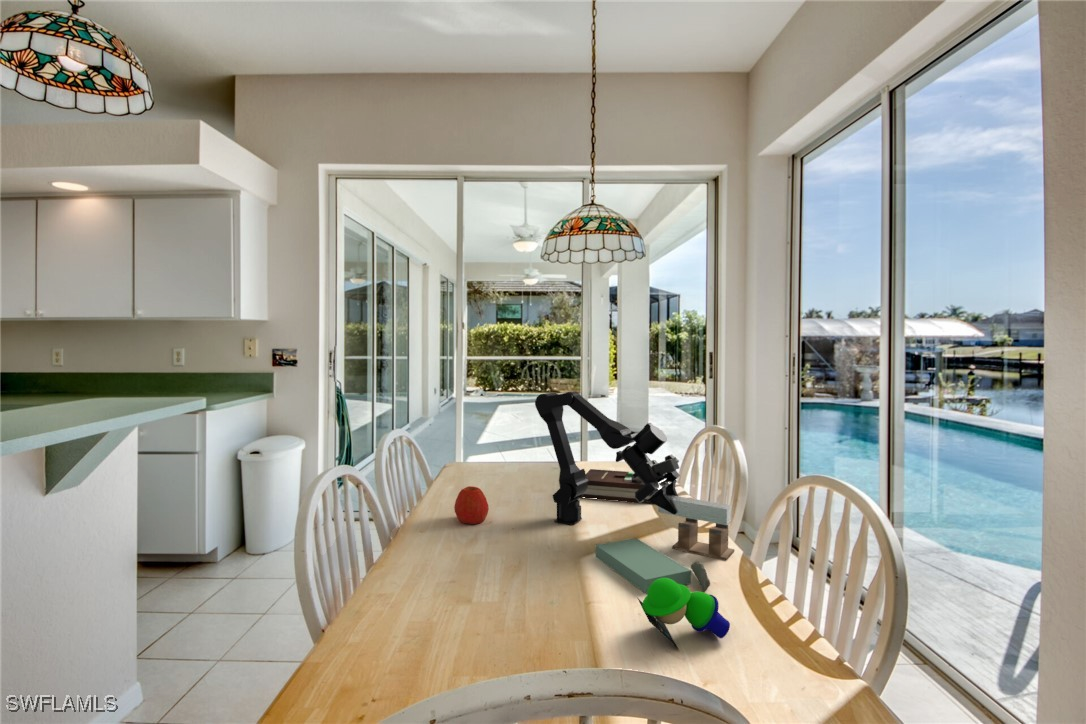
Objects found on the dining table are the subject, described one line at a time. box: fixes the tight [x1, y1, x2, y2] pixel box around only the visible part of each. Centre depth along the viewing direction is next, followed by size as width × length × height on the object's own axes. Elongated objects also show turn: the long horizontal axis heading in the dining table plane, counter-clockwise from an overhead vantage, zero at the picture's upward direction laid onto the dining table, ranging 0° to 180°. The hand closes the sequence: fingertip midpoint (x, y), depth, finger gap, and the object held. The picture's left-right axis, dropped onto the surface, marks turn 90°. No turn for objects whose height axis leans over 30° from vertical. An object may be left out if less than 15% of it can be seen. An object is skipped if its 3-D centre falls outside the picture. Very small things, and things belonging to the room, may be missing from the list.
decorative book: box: [582, 468, 653, 505], centre depth 194 cm, size 19×8×30 cm
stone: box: [690, 560, 711, 593], centre depth 123 cm, size 13×2×5 cm, turn 0°
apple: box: [453, 485, 489, 525], centre depth 165 cm, size 10×10×10 cm
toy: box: [637, 578, 731, 651], centre depth 101 cm, size 10×11×15 cm
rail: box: [657, 494, 732, 525], centre depth 143 cm, size 18×4×4 cm, turn 56°
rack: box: [671, 517, 735, 561], centre depth 142 cm, size 14×7×7 cm, turn 56°
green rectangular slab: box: [595, 537, 692, 594], centre depth 130 cm, size 22×12×3 cm, turn 24°
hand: (678, 511), depth 146 cm, fingers closed on rail, 4 cm apart
